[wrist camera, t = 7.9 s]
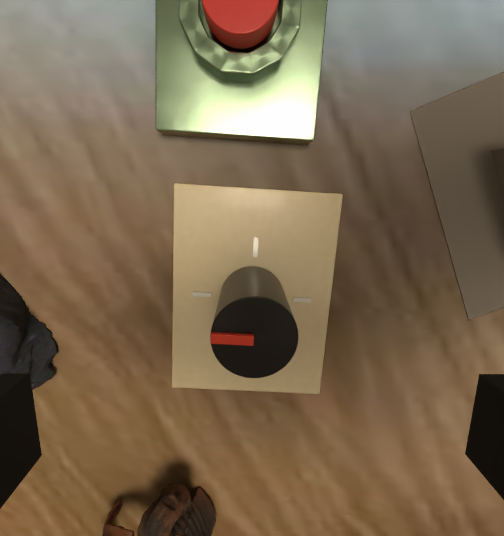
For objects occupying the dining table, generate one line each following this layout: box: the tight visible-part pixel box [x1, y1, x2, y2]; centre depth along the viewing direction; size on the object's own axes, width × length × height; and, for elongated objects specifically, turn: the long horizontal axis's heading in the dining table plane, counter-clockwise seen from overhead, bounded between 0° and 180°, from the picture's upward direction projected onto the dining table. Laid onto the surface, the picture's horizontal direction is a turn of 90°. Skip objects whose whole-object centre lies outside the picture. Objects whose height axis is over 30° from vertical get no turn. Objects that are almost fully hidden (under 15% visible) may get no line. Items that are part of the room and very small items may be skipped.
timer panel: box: [172, 183, 343, 394], centre depth 27 cm, size 16×12×3 cm
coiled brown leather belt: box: [102, 483, 216, 536], centre depth 30 cm, size 12×10×8 cm
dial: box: [210, 266, 299, 378], centre depth 22 cm, size 5×5×8 cm
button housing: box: [156, 0, 328, 145], centre depth 22 cm, size 14×11×4 cm
